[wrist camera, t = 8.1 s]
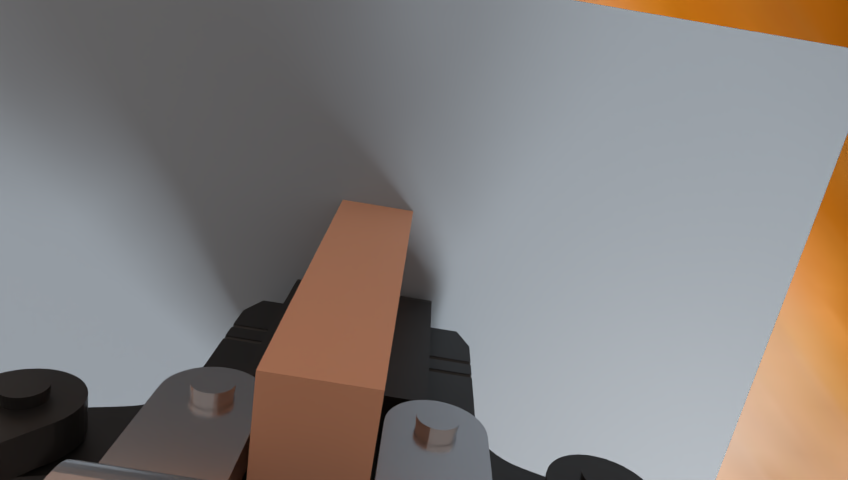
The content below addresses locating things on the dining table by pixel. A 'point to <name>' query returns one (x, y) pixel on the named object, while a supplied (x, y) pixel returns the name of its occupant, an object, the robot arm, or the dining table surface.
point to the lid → (413, 211)
